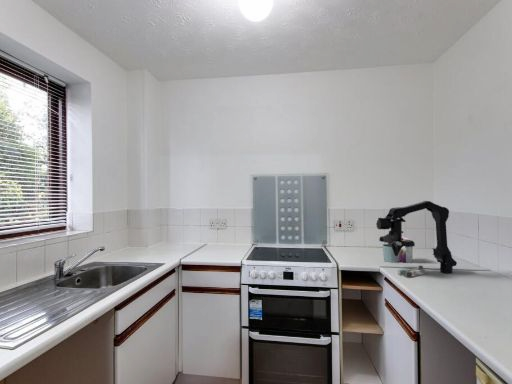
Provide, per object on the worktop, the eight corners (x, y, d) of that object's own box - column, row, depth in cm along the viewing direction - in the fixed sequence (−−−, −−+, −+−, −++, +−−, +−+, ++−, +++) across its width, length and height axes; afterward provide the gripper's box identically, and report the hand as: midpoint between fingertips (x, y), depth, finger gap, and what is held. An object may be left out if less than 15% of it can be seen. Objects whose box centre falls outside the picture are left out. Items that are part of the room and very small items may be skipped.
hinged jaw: (417, 272, 146) (417, 267, 146) (419, 273, 145) (419, 268, 145) (397, 274, 142) (397, 270, 142) (400, 275, 141) (400, 270, 141)
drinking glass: (402, 264, 167) (402, 246, 167) (391, 265, 164) (391, 247, 164) (389, 260, 177) (389, 243, 177) (379, 261, 173) (378, 244, 173)
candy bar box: (396, 259, 178) (396, 236, 178) (403, 259, 178) (403, 236, 178) (405, 264, 167) (405, 239, 167) (412, 264, 167) (412, 239, 167)
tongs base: (405, 269, 157) (405, 260, 157) (435, 278, 140) (435, 268, 140) (385, 273, 149) (384, 264, 149) (414, 283, 133) (414, 273, 133)
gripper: (372, 228, 152) (373, 253, 152) (401, 232, 135) (401, 261, 135) (385, 226, 157) (385, 251, 157) (415, 231, 140) (415, 259, 140)
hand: (396, 255), depth 147 cm, fingers closed
